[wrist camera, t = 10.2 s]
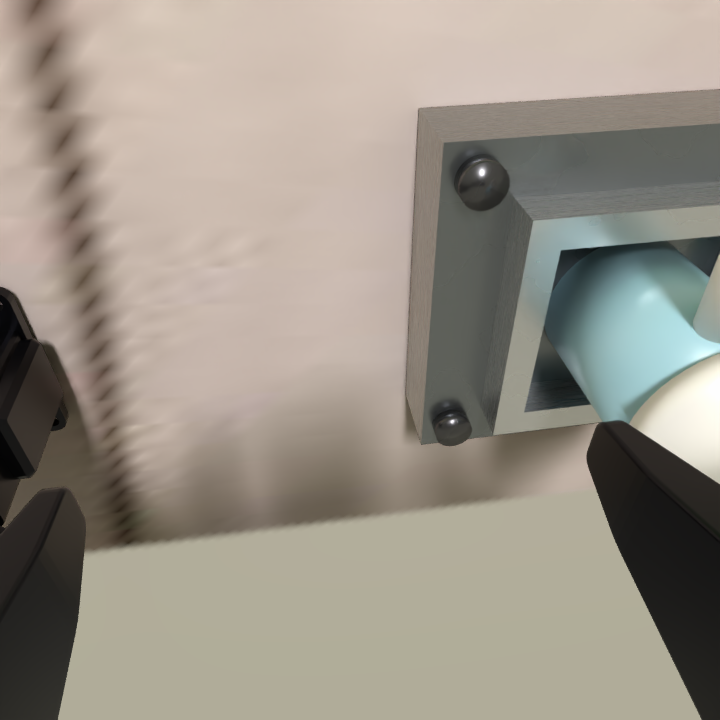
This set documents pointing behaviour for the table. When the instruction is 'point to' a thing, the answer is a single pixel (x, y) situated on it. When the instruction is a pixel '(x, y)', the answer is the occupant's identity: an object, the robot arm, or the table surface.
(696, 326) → the pump canister
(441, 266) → the grey metal socket plate
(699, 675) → the robot arm
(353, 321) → the table surface
